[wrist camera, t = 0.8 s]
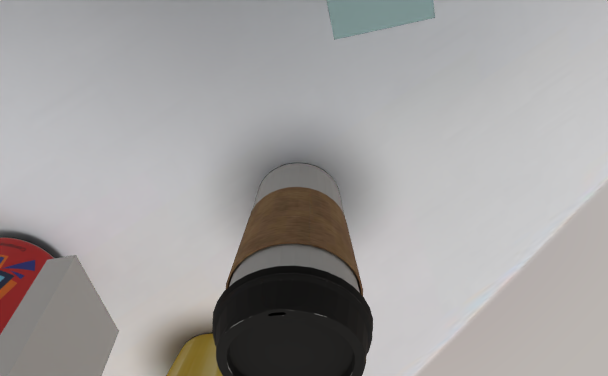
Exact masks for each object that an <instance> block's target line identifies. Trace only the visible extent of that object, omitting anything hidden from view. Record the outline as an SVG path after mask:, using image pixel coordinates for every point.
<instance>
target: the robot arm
mask: <svg viewBox="0 0 608 376" xmlns="http://www.w3.org/2000/svg"><path fill="white" fill-rule="evenodd" d="M118 332H119V330H118V329H117V327H116V325H115V323H114V322H113V320H112V318H111V316H110V315H109V313H108V311H107V309H106V307H105V306H104V304H103V302H102V300H101V299H100V297H99V295H98V293H97V292H96V290H95V288H94V286H93V284H92V283H91V281H90V279H89V277H88V276H87V274H86V272H85V270H84V269H83V267H82V265H81V263H80V262H79V260H78V258H77V256H76V255H74V256H67V257H61V258H55V259H49V260H47V261H46V263H45V264H44V266H43V267H42V269H41V271H40V272H39V274H38V275H37V277H36V279H35V280H34V282H33V283H32V285H31V287H30V288H29V290H28V291H27V293H26V295H25V296H24V298H23V299H22V301H21V303H20V304H19V306H18V307H17V309H16V311H15V312H14V314H13V315H12V317H11V319H10V320H9V322H8V323H7V325H6V327H5V328H4V330H3V331H2V333H1V335H0V376H102V373H103V370H104V368H105V365H106V363H107V360H108V358H109V355H110V353H111V350H112V347H113V345H114V342H115V340H116V337H117V335H118Z"/></svg>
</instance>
